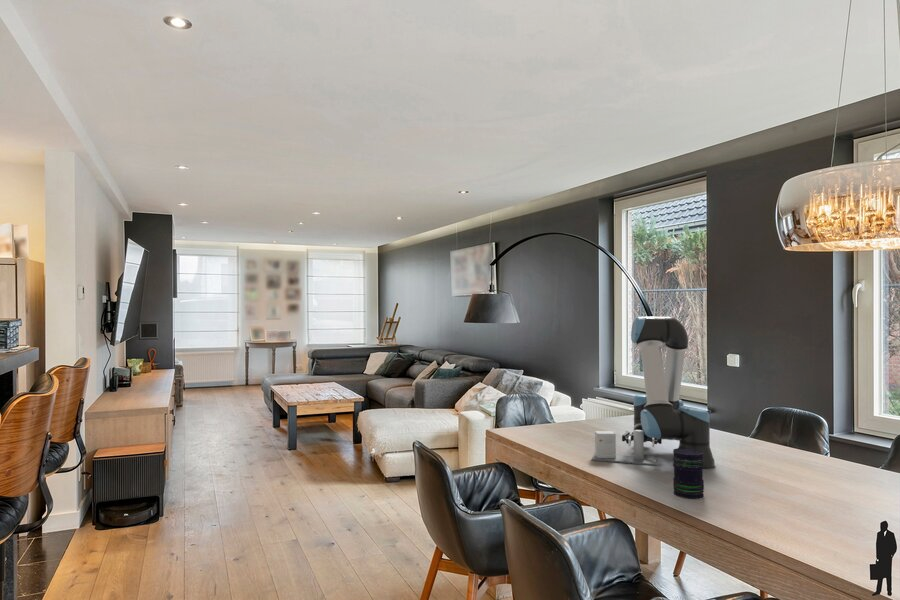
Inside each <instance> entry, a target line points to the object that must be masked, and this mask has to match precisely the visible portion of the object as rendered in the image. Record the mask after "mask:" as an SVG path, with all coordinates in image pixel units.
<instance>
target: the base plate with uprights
mask: <svg viewBox="0 0 900 600" xmlns="http://www.w3.org/2000/svg"><path fill="white" fill-rule="evenodd" d="M633 431H634V440H633V454H631V455H630V454H621V453H620V454H618V453H616V458H597V456H596V455H595V452H593V455H592V457H591V461H593V460H596V461H597V462H606V461H608V462H607V463H618V462H619V464H631V463H632V464H633V465H646V466H657V457H656V456H648V455H647V456H645V452H644V451H645V448H644V445H645V444H644V443H645V442H644V438H643V431H642V430H634V429H633ZM596 461H595V462H596Z"/></svg>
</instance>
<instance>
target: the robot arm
mask: <svg viewBox="0 0 900 600" xmlns="http://www.w3.org/2000/svg"><path fill="white" fill-rule="evenodd" d="M630 339H631V342H632V343H634V344H636V348H637V349H638V350H640V355H641V364H642V371H643V379H644V388H645V394H635V395H634V398H633V431H632V432H631V431H630V432H629V431H625V432H624V433H623V434H622V435H621V442H625V443H626V444H628V446H629V447H630V446H631V443H632V441H633V442H634V430H642V431H643V438H644V443H647V442H651V443H652V445H651V446H652V448H655V445H658V444H659V445H661V444H662V443H663V442H662V440H663V439H664V438H665V439H667V438H673V439H674V438H679V439H680V440H679V442H678V443H679V445H678V447H677V448H690V449H696V450H700V451H702V452H703V460H704V464H703V466H704V467H703V469H711V468H713V467H715V465H716V463H715V458H714V456H713V451H712V449H711V446H710V444H711V443H710V442H711V440H710V439H711V438H710V423H711V421H710V414H709V412H708V411H707V410H704V409H702V408H697V407H692V406H686V405H684V402H683V400H682V399H680V395H681V386H682V377H683V369H684V362H685V361H684V360H685V352H686V350H687V349H688V347H689V336H688V333H687V329H686V328H685V326H684V325H683V324H682V322H681V321H680V320H678V319H677V318H676V317H671V316H636V317H635V318H634V319H633V321H632V325H631V333H630ZM664 346H665V347H666V354H665V355H666V356H665V367H664V361H663V353H662V348H664Z"/></svg>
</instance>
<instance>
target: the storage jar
mask: <svg viewBox="0 0 900 600" xmlns="http://www.w3.org/2000/svg"><path fill="white" fill-rule="evenodd" d="M672 450H673V451H672V452H673V455H672V461H673V462H672V466H673V477H672V478H673V479H672V480H673V481H672V485H673V495H674V496H676V497H678V498H682V499H685V500H687V499H688V500H700V498H701V499H703V498H704V497H705V496H704V495H705V494H704V492H705V491H704V490H705V486H704V485H705V484H704V483H705V482H704V477H703V476H704V475H703V473H704V471H703V470H704V468H703V467H704V466H703V464H704V460H703V452H702V451H700V450H696V449H690V448H678V447H677V448H673V449H672Z"/></svg>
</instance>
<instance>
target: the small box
mask: <svg viewBox="0 0 900 600" xmlns="http://www.w3.org/2000/svg"><path fill="white" fill-rule="evenodd" d="M616 442H617V441H616V433H615V432H614V431H612V430H603V431H602V430H595V431H594V450H595V451H594V453H595V455H596V456H597V458H616V454H617V452H616V451H617V450H616V449H617V448H616V447H617V444H616Z"/></svg>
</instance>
